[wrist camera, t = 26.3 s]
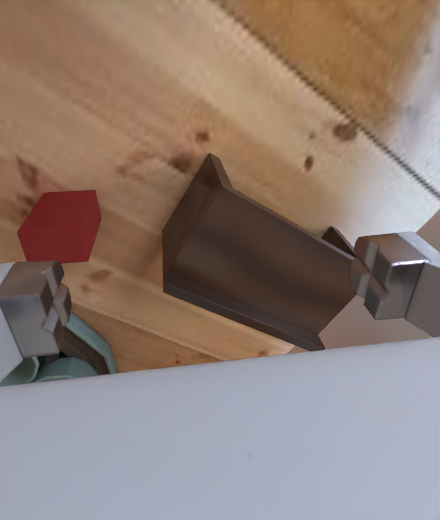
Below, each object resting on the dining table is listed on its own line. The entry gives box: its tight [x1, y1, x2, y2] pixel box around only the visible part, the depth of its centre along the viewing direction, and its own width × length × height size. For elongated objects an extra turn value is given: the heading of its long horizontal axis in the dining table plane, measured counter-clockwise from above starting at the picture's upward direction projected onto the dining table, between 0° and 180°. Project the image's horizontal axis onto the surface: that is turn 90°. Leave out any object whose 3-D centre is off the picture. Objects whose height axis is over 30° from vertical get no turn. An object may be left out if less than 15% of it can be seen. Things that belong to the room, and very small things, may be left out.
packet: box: [17, 190, 101, 263], centre depth 41 cm, size 4×6×10 cm, turn 90°
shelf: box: [162, 153, 357, 351], centre depth 45 cm, size 12×22×14 cm, turn 58°
